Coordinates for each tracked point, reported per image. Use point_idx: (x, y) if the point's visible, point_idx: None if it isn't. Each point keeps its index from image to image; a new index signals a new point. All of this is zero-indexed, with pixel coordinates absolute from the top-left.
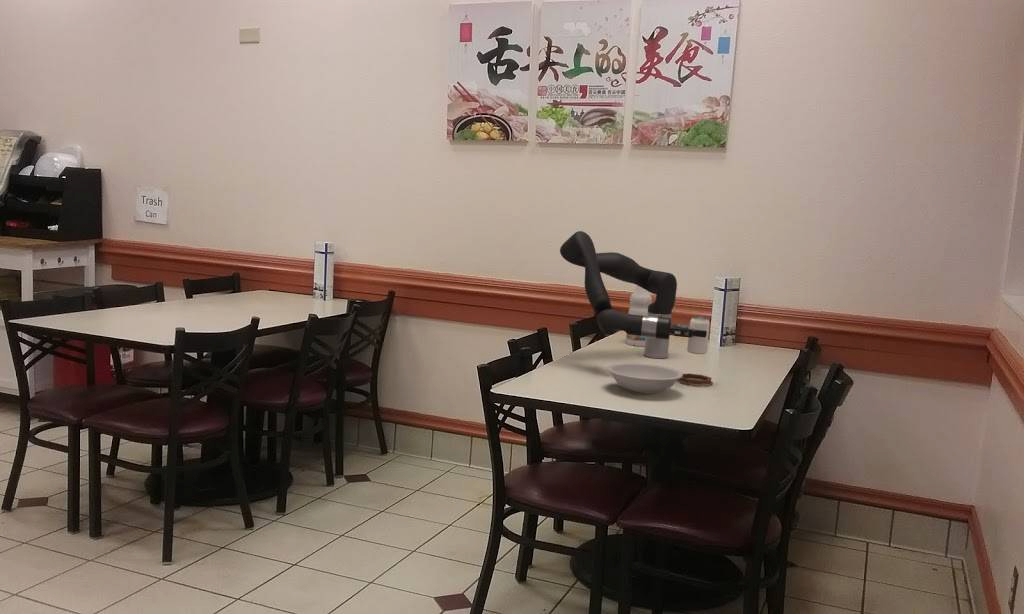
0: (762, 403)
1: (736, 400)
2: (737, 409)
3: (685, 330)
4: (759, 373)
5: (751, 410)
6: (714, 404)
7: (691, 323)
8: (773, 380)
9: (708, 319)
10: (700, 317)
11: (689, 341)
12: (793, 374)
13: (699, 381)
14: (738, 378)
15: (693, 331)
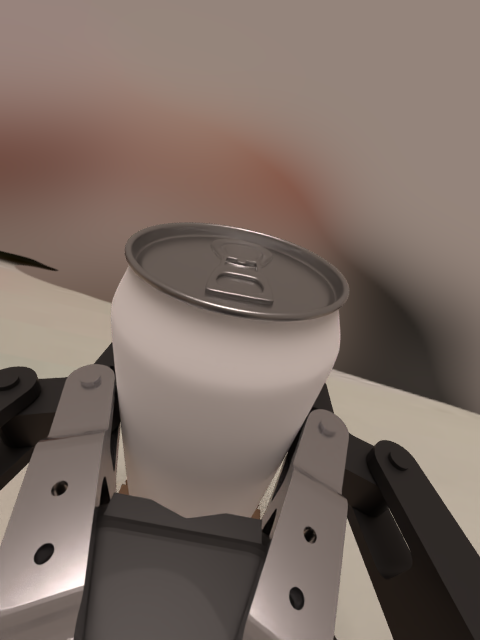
0: (351, 377)
1: (371, 424)
2: (461, 439)
3: (468, 554)
4: (20, 307)
5: (436, 411)
6: (477, 496)
7: (296, 402)
8: (108, 306)
9: (254, 241)
10: (142, 246)
11: (240, 515)
12: (43, 267)
13: (259, 514)
14: (86, 363)
15: (357, 439)
